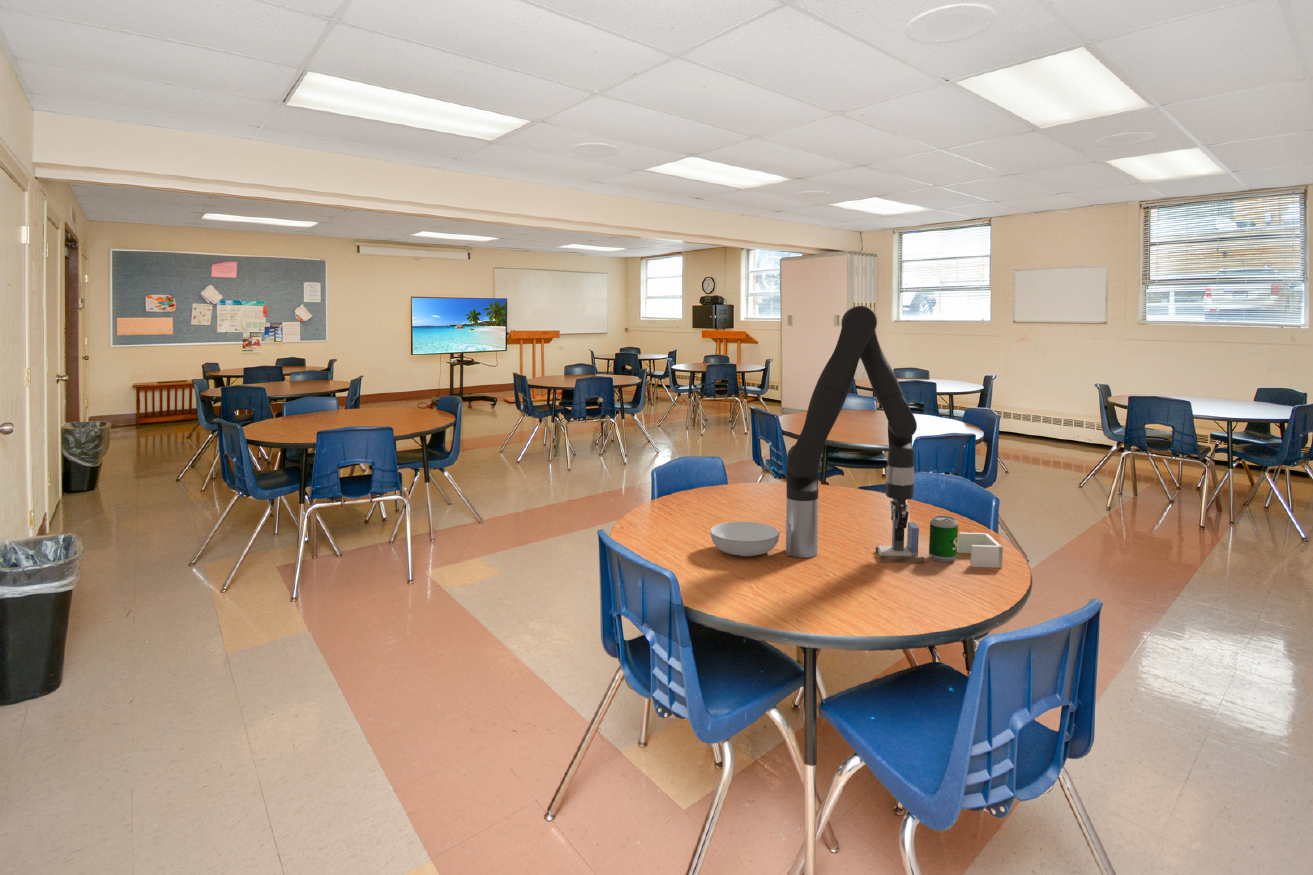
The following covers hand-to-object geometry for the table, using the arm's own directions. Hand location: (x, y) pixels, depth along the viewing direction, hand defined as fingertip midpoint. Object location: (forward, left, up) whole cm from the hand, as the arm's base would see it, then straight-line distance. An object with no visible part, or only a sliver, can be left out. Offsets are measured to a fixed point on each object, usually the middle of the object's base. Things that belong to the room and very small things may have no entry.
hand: (898, 538), depth 195 cm
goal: (+22, 0, -6) cm, 23 cm away
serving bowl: (-44, +1, -6) cm, 45 cm away
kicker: (0, 0, -6) cm, 6 cm away
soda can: (+12, 0, -6) cm, 14 cm away
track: (0, 0, -6) cm, 6 cm away
